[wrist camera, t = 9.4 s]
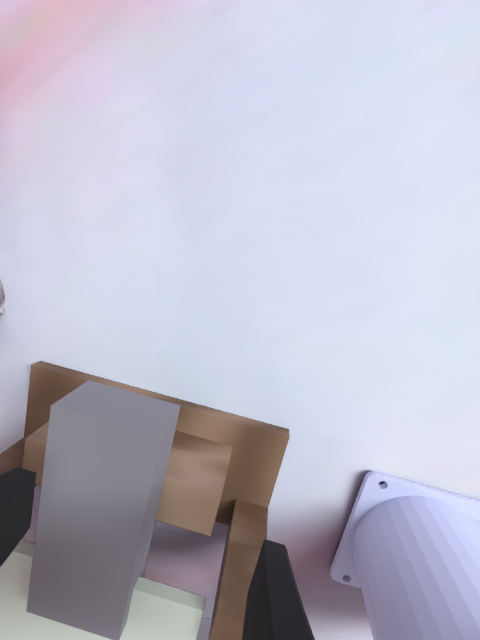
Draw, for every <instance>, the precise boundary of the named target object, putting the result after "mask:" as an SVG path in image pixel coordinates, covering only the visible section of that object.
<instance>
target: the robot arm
mask: <svg viewBox="0 0 480 640" xmlns="http://www.w3.org/2000/svg"><path fill="white" fill-rule="evenodd" d="M35 479H36V472H33V471H29V470H26V469H23V468H19V467H17V468H15V469H13V470H11V471H8V472H6V473H4V474H2V475H0V567H1V566H2V565H3V563H4V562H5V561H6V559H7V558H8V557H9V555H10V554H11V553H12V551H13V550H14V549H15V547H16V546H17V545H18V543H19V542H20V540H21V539H22V538H23V536H24V535H25V533H26V532H27V530H28V529H29V528H30V523H31V514H32V506H33V497H34V488H35ZM381 481H385V483H384V484H382V485H381V484H379V482H381ZM330 575H331V578H332V579H333V580H334V581H336V582H339V583H342V584H345V585H349V586H352V587H355V588H359V589H361V590H362V594H363V598H364V602H365V606H366V610H367V614H368V618H369V622H370V626H371V631H372V635H373V639H374V640H480V501H479V500H475V499H472V498H468V497H464V496H461V495H457V494H454V493H450V492H447V491H443V490H439V489H436V488H432V487H429V486H425V485H422V484H418V483H414V482H411V481H407V480H404V479H400V478H396V477H393V476H389V475H386V474H382V473H379V472H374V471H371V472H368V473H367V474H366V475H365V476H364V479H363V482H362V484H361V487H360V490H359V493H358V495H357V498H356V501H355V503H354V506H353V509H352V511H351V514H350V517H349V520H348V522H347V525H346V528H345V530H344V533H343V536H342V538H341V541H340V544H339V546H338V549H337V552H336V555H335V557H334V560H333V563H332V565H331V568H330ZM345 575H348V576H345ZM242 640H315V639H314V636H313V633H312V630H311V627H310V625H309V622H308V619H307V616H306V613H305V610H304V607H303V604H302V601H301V598H300V595H299V592H298V588H297V585H296V582H295V578H294V575H293V571H292V568H291V564H290V560H289V556H288V552H287V549H286V547H285V545H282V544H279V543H276V542H272V541H269V540H265V539H264V541H263V544H262V548H261V551H260V554H259V557H258V561H257V564H256V567H255V570H254V574H253V577H252V580H251V583H250V587H249V590H248V594H247V602H246V610H245V618H244V626H243V634H242Z"/></svg>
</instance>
